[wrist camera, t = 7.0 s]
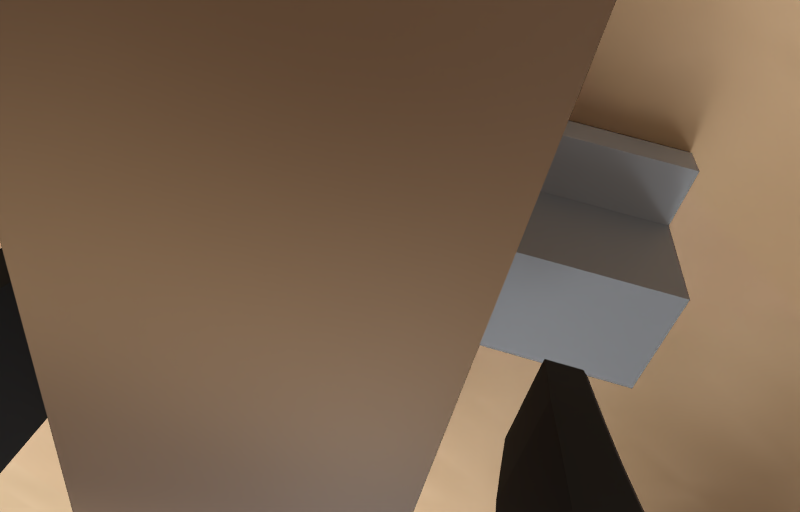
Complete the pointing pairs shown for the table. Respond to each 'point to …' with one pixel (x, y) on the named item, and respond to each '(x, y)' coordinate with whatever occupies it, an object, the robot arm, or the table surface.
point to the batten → (269, 232)
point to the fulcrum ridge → (597, 258)
